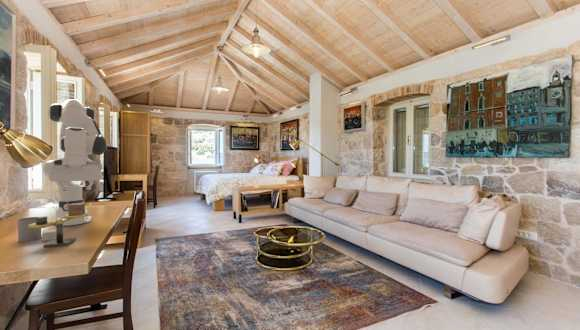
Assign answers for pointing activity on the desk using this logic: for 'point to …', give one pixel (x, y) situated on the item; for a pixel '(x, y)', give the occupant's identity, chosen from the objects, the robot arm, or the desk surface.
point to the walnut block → (76, 209)
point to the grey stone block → (49, 234)
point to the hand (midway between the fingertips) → (76, 190)
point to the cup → (28, 230)
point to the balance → (42, 223)
